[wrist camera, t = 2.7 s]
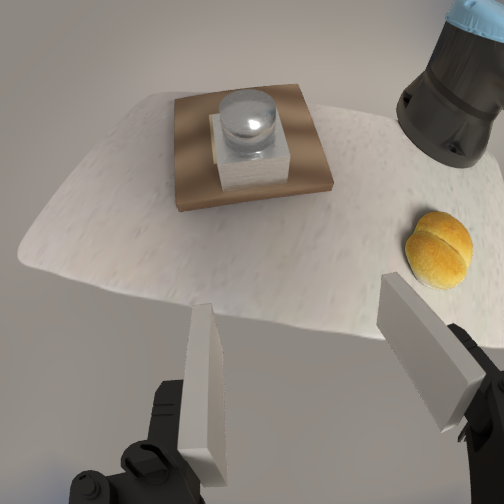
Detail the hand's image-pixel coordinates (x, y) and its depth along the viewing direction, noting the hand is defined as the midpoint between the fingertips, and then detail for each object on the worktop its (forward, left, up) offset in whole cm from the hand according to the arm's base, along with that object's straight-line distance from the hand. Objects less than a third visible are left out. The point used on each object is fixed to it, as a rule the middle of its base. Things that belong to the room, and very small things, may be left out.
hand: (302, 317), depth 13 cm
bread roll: (-1, -20, -17) cm, 27 cm away
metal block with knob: (+17, -6, -13) cm, 22 cm away
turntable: (+21, -8, -15) cm, 27 cm away
